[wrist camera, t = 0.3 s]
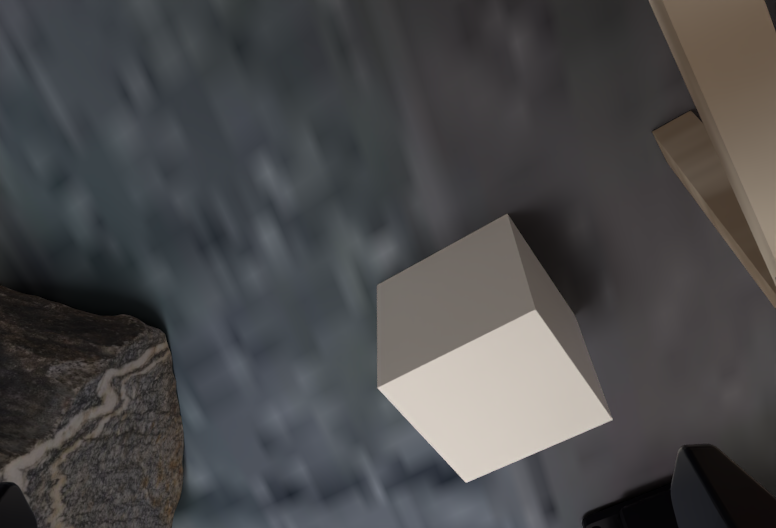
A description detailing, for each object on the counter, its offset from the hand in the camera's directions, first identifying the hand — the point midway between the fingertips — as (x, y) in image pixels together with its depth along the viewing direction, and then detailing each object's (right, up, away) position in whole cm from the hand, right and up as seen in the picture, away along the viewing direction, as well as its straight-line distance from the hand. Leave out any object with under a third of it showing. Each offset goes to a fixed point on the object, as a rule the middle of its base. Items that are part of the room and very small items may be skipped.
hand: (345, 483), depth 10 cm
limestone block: (+4, +2, +15) cm, 16 cm away
